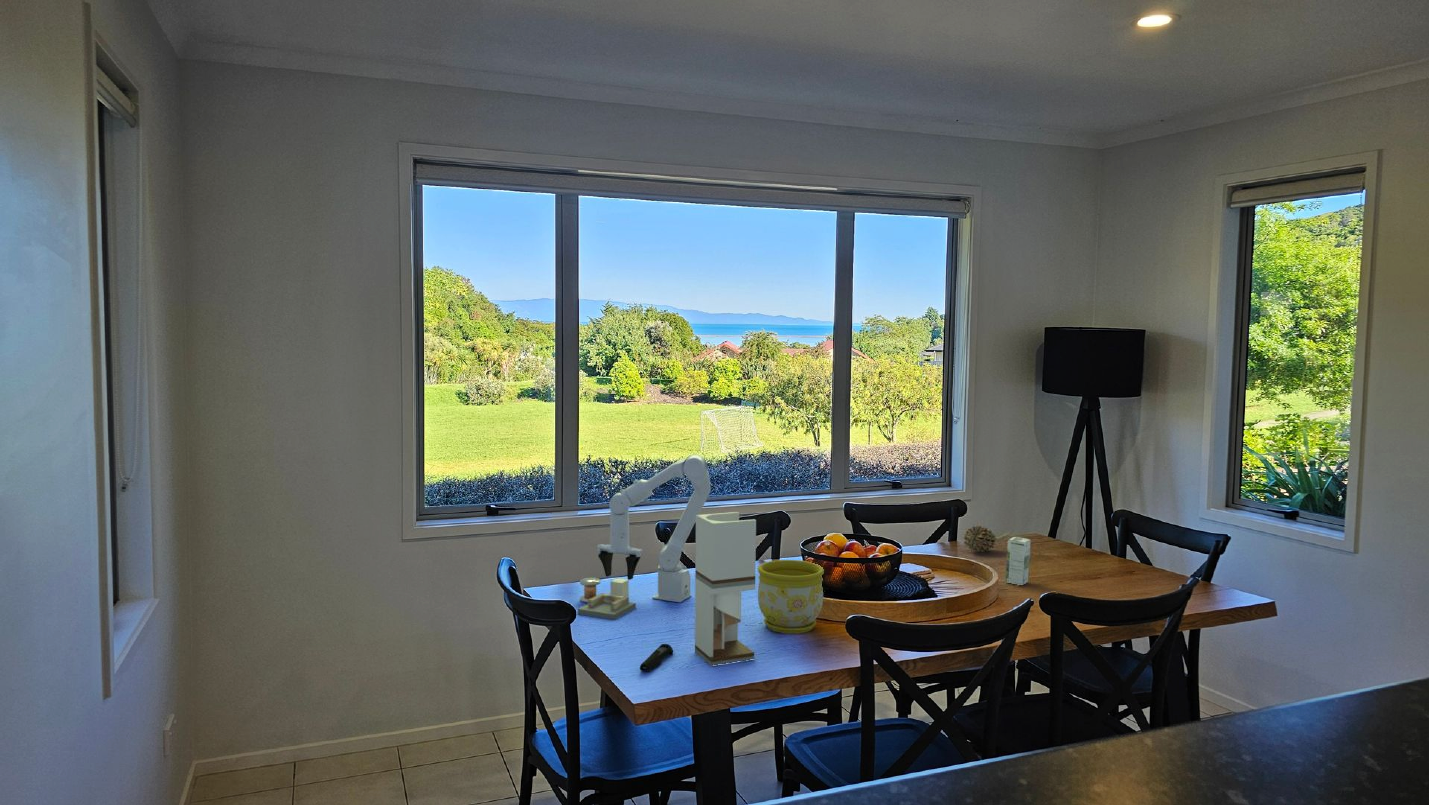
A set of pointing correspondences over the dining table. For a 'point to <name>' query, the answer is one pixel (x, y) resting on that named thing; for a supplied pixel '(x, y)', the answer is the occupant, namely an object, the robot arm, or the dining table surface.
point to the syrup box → (1018, 561)
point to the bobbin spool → (589, 588)
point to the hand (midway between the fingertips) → (619, 577)
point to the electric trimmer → (656, 657)
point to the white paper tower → (722, 584)
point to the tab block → (619, 587)
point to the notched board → (607, 606)
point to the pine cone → (981, 538)
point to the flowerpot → (790, 595)
